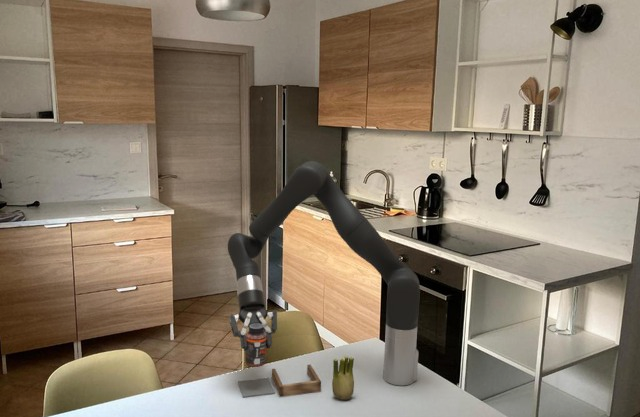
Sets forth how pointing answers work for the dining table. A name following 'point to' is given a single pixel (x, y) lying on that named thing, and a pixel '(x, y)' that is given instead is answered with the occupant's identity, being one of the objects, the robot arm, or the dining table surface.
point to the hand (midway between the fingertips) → (257, 348)
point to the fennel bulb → (343, 378)
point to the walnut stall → (297, 384)
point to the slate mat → (256, 387)
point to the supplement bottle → (256, 346)
